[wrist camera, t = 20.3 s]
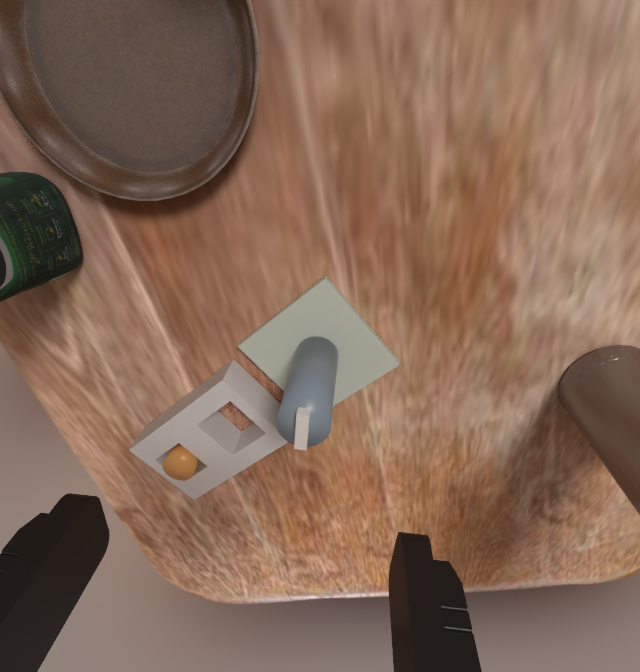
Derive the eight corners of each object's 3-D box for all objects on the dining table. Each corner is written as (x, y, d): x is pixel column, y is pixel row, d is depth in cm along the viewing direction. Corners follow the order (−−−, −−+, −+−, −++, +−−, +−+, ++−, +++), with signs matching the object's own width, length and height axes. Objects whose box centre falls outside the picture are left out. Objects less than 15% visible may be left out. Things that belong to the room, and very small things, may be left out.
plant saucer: (84, -227, 25) (48, -272, 22) (322, 52, 31) (318, 45, 28) (-34, 62, 33) (-72, 57, 30) (172, 241, 39) (157, 251, 36)
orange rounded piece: (186, 433, 48) (176, 452, 45) (208, 452, 49) (200, 471, 46) (167, 447, 49) (156, 466, 46) (189, 465, 50) (180, 484, 47)
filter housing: (233, 359, 44) (222, 379, 41) (294, 417, 48) (289, 441, 44) (145, 426, 50) (129, 450, 47) (204, 474, 53) (193, 500, 50)
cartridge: (340, 339, 41) (332, 414, 31) (336, 375, 43) (326, 456, 33) (297, 333, 41) (274, 407, 31) (295, 370, 43) (273, 449, 33)
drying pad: (399, 360, 43) (400, 364, 42) (313, 414, 47) (312, 419, 46) (325, 275, 39) (324, 278, 38) (239, 342, 43) (237, 346, 43)
